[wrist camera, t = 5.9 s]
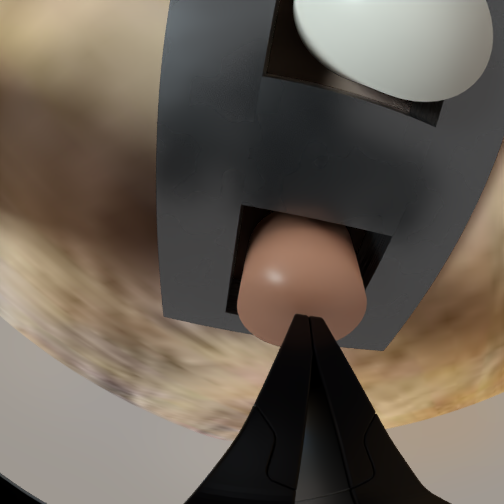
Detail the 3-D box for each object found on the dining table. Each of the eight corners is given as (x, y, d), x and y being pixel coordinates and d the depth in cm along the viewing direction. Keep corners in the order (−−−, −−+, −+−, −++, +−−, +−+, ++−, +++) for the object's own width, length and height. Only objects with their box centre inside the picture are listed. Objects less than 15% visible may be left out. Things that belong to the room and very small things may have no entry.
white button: (281, 64, 7) (279, 65, 4) (304, -56, 4) (312, -103, 2) (416, 104, 7) (470, 131, 4) (440, -9, 4) (499, -21, 2)
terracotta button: (241, 280, 12) (230, 338, 10) (257, 195, 10) (246, 248, 8) (333, 296, 12) (339, 354, 10) (367, 218, 10) (388, 274, 8)
